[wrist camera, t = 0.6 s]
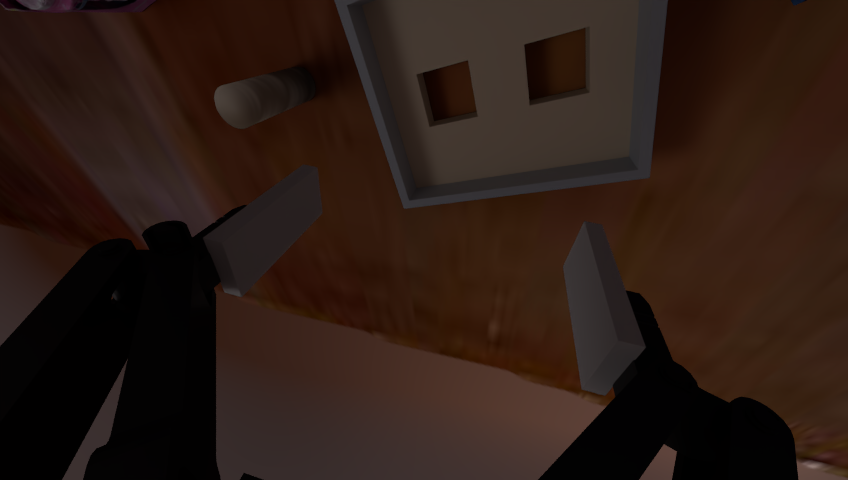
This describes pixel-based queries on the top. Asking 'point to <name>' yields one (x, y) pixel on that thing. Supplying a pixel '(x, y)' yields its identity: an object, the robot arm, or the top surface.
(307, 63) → the top surface
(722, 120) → the top surface
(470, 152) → the box
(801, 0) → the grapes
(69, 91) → the top surface
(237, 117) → the peg
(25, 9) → the gum box
